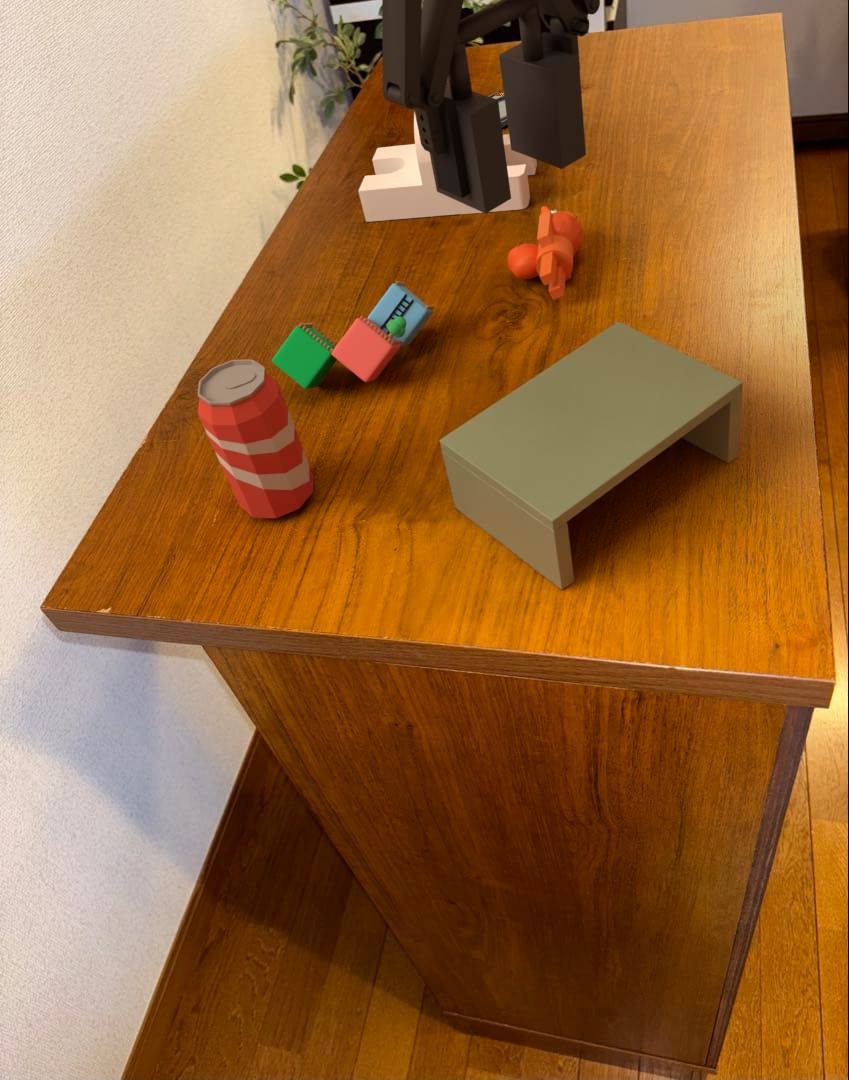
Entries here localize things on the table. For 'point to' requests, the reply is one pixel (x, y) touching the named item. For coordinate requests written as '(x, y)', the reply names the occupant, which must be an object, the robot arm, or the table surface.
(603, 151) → the table surface
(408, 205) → the white thick notched block
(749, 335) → the table surface
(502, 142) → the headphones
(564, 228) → the orange toy bird
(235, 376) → the beverage can
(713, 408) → the shelf
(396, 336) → the building blocks
